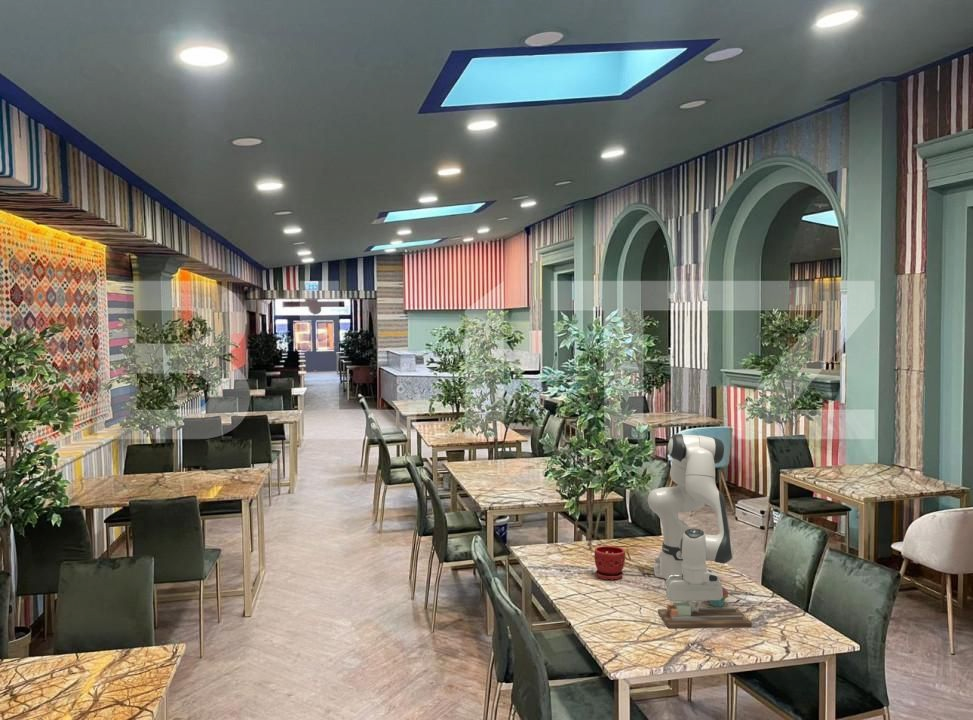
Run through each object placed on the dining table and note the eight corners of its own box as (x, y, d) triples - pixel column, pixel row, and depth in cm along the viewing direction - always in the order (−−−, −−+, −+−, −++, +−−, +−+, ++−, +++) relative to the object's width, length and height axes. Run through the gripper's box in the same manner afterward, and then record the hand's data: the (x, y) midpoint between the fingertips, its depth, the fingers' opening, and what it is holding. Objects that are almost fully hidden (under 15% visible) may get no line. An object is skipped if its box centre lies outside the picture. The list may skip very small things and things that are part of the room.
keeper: (673, 613, 264) (673, 601, 264) (686, 613, 264) (686, 601, 264) (677, 619, 259) (677, 606, 259) (690, 618, 259) (690, 606, 259)
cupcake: (713, 609, 272) (713, 578, 271) (700, 601, 280) (700, 571, 280) (732, 607, 274) (732, 576, 274) (719, 599, 282) (720, 569, 282)
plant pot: (627, 581, 304) (627, 553, 303) (596, 581, 304) (596, 553, 303) (622, 571, 317) (622, 544, 316) (592, 571, 317) (592, 544, 317)
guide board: (658, 613, 268) (658, 600, 268) (737, 612, 269) (737, 598, 269) (668, 628, 255) (668, 614, 254) (751, 627, 255) (751, 613, 255)
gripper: (668, 577, 258) (668, 615, 258) (724, 576, 258) (724, 614, 259) (663, 572, 264) (663, 609, 264) (718, 571, 265) (718, 608, 265)
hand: (694, 611), depth 262 cm, fingers closed
